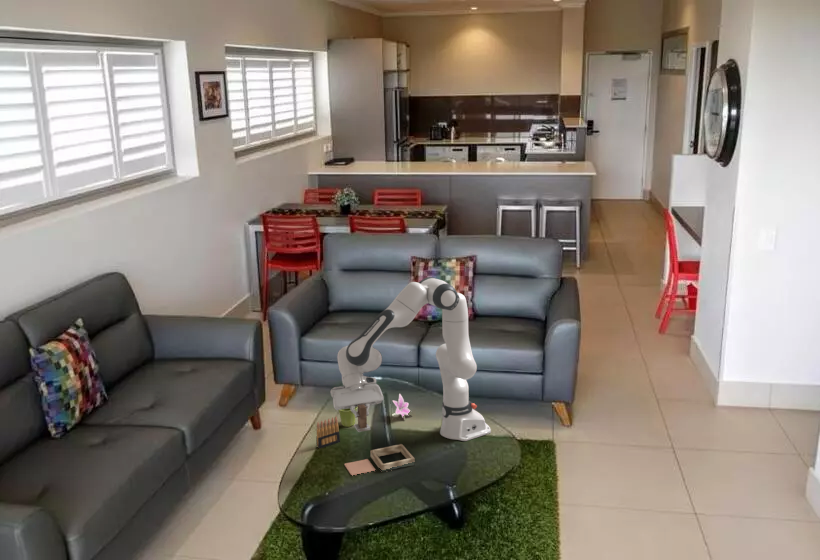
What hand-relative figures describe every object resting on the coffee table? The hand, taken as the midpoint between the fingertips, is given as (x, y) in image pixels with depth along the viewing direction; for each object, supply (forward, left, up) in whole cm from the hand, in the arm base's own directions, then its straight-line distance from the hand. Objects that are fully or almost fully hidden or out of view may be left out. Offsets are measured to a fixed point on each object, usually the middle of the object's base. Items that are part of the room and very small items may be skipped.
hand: (362, 416), depth 294 cm
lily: (-31, -38, -23) cm, 54 cm away
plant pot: (-6, -41, -23) cm, 47 cm away
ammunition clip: (+8, -25, -23) cm, 35 cm away
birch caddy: (-12, 0, -22) cm, 25 cm away
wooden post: (0, 0, -5) cm, 5 cm away
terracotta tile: (+2, 0, -22) cm, 22 cm away
